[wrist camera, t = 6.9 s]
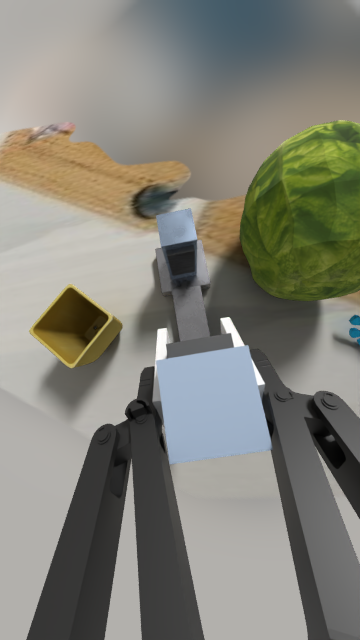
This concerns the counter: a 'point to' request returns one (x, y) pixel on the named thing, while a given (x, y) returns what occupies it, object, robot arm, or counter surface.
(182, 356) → the blue block
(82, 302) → the flower pot
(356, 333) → the blue splash shape
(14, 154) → the counter surface
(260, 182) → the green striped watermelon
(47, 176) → the counter surface
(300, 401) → the robot arm
